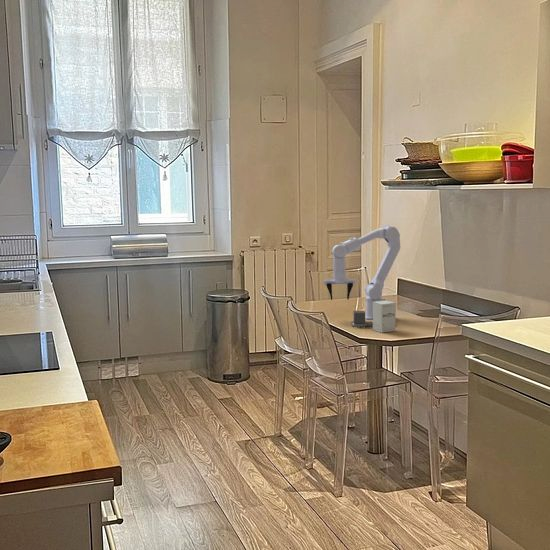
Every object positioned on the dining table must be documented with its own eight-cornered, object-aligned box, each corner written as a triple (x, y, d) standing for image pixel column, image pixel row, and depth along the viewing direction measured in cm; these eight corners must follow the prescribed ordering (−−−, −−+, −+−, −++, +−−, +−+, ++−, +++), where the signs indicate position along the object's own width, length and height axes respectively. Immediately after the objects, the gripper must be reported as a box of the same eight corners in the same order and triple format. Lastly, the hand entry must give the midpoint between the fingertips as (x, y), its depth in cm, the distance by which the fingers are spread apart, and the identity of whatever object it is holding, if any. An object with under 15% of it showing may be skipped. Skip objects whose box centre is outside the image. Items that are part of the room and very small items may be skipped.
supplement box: (381, 333, 300) (381, 304, 299) (372, 329, 307) (372, 301, 305) (396, 331, 303) (396, 302, 301) (386, 328, 310) (386, 299, 308)
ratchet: (393, 323, 319) (393, 315, 318) (395, 327, 311) (395, 318, 310) (350, 324, 320) (350, 315, 319) (351, 328, 312) (351, 319, 311)
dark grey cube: (364, 321, 318) (364, 310, 317) (365, 324, 313) (365, 312, 312) (353, 321, 318) (353, 311, 317) (354, 324, 313) (353, 313, 312)
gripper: (323, 272, 325) (324, 301, 327) (355, 271, 324) (355, 300, 326) (323, 270, 332) (324, 298, 334) (354, 269, 331) (354, 297, 333)
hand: (339, 299), depth 330 cm, fingers open, 7 cm apart
